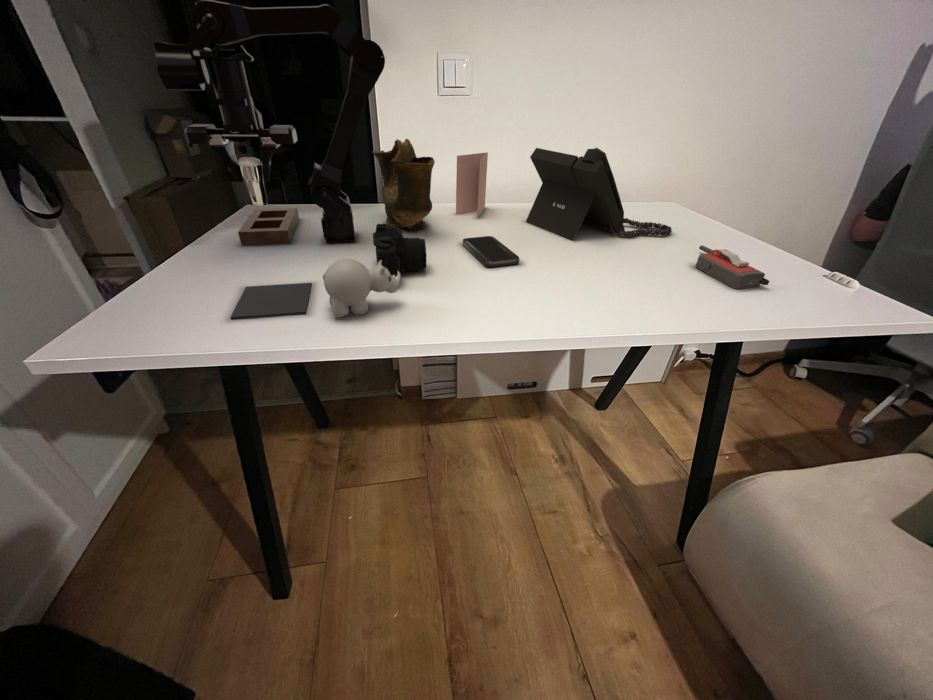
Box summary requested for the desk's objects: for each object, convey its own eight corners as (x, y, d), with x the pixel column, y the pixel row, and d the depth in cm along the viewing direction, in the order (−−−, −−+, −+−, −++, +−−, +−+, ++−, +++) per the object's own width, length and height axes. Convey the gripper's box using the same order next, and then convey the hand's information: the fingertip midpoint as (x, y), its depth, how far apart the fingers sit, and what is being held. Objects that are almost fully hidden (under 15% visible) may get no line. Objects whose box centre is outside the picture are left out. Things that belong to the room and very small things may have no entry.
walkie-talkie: (775, 289, 78) (702, 252, 94) (786, 267, 76) (709, 233, 92) (738, 292, 76) (670, 254, 92) (748, 270, 74) (676, 235, 90)
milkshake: (269, 207, 83) (256, 154, 77) (243, 206, 83) (229, 153, 77) (278, 202, 87) (267, 151, 81) (253, 200, 87) (241, 149, 81)
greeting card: (482, 207, 120) (485, 151, 112) (500, 212, 116) (505, 155, 107) (453, 213, 113) (454, 155, 105) (471, 219, 109) (474, 159, 101)
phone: (487, 262, 81) (461, 238, 92) (486, 268, 82) (461, 243, 93) (521, 258, 83) (492, 235, 95) (521, 263, 84) (492, 240, 96)
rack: (299, 219, 104) (296, 207, 102) (290, 243, 90) (287, 230, 88) (257, 221, 102) (254, 209, 100) (241, 245, 88) (237, 232, 86)
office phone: (676, 234, 105) (705, 148, 93) (605, 254, 91) (628, 156, 79) (590, 207, 124) (605, 133, 113) (520, 219, 110) (529, 137, 99)
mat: (311, 284, 73) (311, 282, 73) (305, 313, 64) (305, 311, 64) (246, 288, 71) (245, 286, 71) (230, 319, 62) (230, 317, 62)
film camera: (429, 287, 74) (428, 239, 69) (375, 289, 72) (370, 240, 67) (423, 256, 86) (421, 213, 81) (377, 257, 84) (372, 214, 79)
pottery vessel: (444, 238, 96) (444, 146, 85) (400, 243, 92) (394, 147, 81) (412, 210, 114) (408, 132, 103) (374, 214, 110) (366, 132, 99)
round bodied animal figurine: (406, 313, 65) (404, 264, 61) (330, 323, 62) (320, 271, 57) (398, 294, 71) (395, 247, 66) (327, 302, 68) (318, 253, 63)
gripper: (293, 91, 82) (307, 173, 90) (191, 88, 78) (217, 174, 87) (283, 93, 73) (301, 184, 81) (169, 90, 69) (200, 186, 78)
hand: (255, 181), depth 82 cm, fingers closed on milkshake, 5 cm apart
